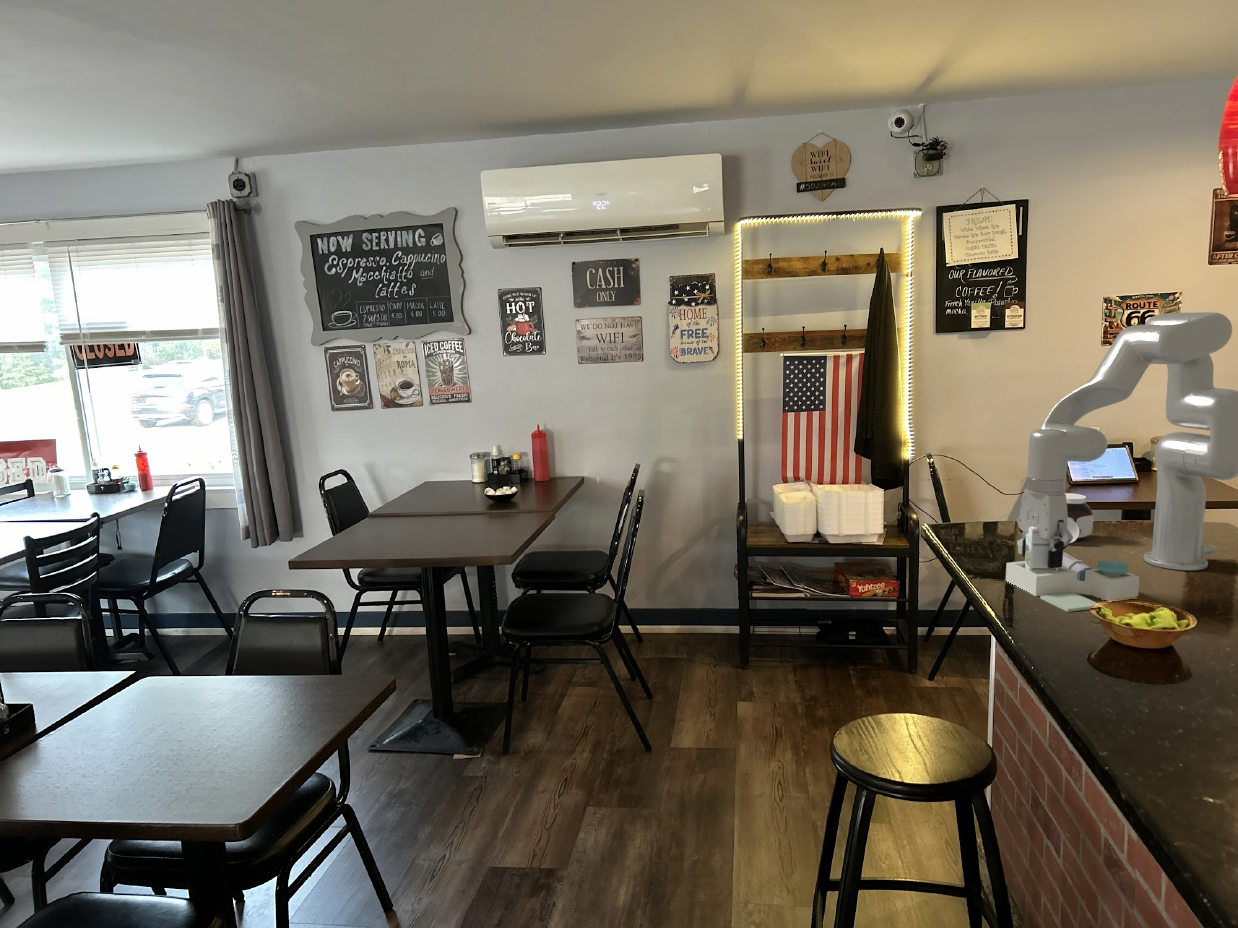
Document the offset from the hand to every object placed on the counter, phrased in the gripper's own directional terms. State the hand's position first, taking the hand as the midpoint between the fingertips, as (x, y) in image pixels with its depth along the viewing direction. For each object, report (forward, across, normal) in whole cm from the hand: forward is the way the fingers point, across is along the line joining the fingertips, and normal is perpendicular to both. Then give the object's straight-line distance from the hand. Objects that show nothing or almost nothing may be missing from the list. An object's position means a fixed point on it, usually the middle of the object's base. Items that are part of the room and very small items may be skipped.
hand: (1041, 561), depth 173 cm
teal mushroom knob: (+5, +9, +10) cm, 14 cm away
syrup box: (+6, 0, 0) cm, 6 cm away
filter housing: (+6, +4, +4) cm, 8 cm away
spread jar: (+6, -29, +31) cm, 43 cm away
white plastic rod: (+6, -12, +12) cm, 18 cm away
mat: (+6, +10, -1) cm, 12 cm away
